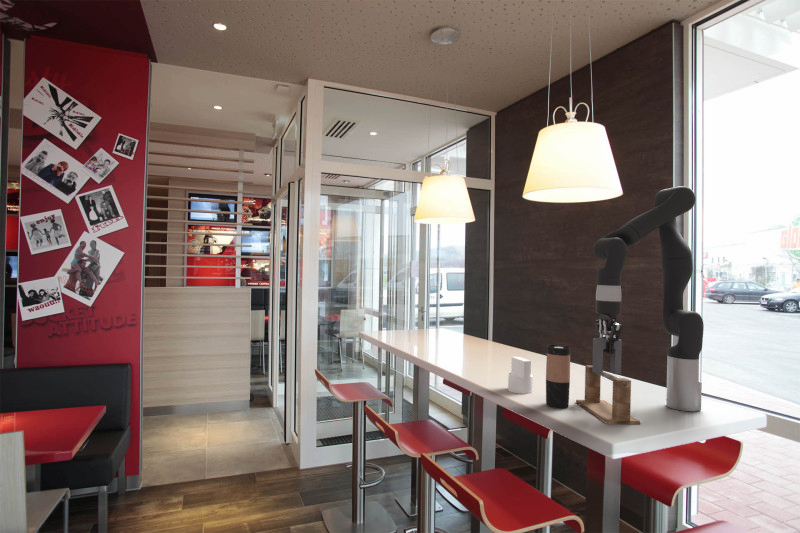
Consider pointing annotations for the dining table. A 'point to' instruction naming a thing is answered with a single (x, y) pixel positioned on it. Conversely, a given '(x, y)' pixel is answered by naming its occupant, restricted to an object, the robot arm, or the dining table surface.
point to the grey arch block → (598, 356)
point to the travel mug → (557, 376)
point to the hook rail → (603, 409)
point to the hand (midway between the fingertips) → (607, 352)
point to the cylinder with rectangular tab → (520, 376)
